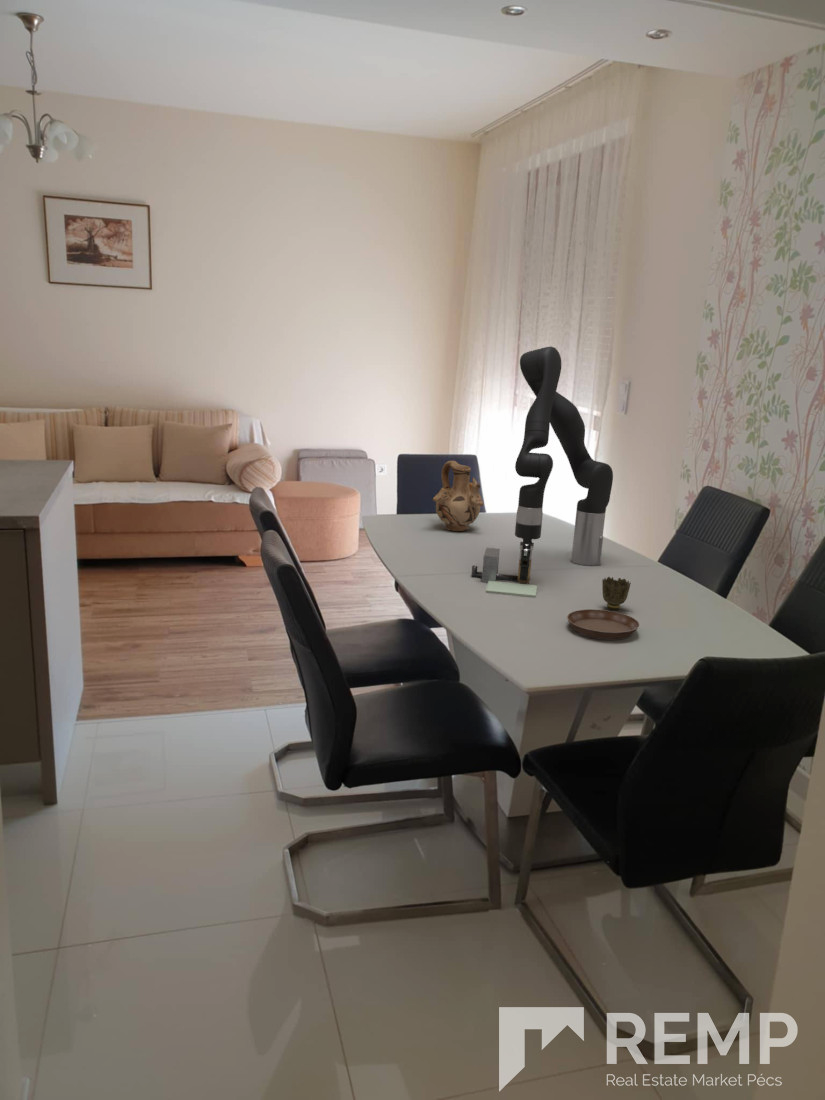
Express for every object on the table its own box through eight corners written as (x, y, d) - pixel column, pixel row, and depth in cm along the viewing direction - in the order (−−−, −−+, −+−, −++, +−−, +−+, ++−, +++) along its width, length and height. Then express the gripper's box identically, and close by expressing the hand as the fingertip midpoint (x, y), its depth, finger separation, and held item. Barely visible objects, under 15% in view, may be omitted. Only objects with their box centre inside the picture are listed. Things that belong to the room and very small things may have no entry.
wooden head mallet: (529, 580, 250) (531, 557, 248) (529, 583, 246) (531, 560, 244) (471, 574, 252) (473, 552, 250) (470, 577, 249) (472, 555, 247)
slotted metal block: (497, 574, 254) (499, 548, 252) (495, 583, 244) (497, 556, 242) (484, 573, 255) (486, 547, 253) (481, 582, 245) (483, 555, 243)
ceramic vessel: (430, 533, 302) (435, 464, 296) (432, 521, 321) (436, 456, 314) (480, 536, 302) (486, 467, 295) (479, 525, 320) (485, 460, 314)
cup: (627, 606, 230) (631, 578, 228) (626, 614, 223) (630, 585, 221) (600, 603, 232) (603, 575, 230) (598, 610, 225) (601, 582, 223)
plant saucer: (551, 628, 210) (553, 616, 209) (591, 615, 222) (593, 604, 221) (612, 649, 198) (614, 637, 197) (651, 633, 210) (652, 622, 209)
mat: (536, 587, 243) (536, 585, 243) (535, 597, 233) (535, 595, 233) (488, 582, 245) (488, 580, 245) (485, 592, 235) (485, 590, 235)
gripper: (541, 527, 236) (535, 585, 240) (542, 517, 250) (537, 572, 254) (514, 525, 237) (509, 582, 241) (517, 515, 251) (512, 570, 255)
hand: (523, 577), depth 248 cm, fingers open, 4 cm apart
